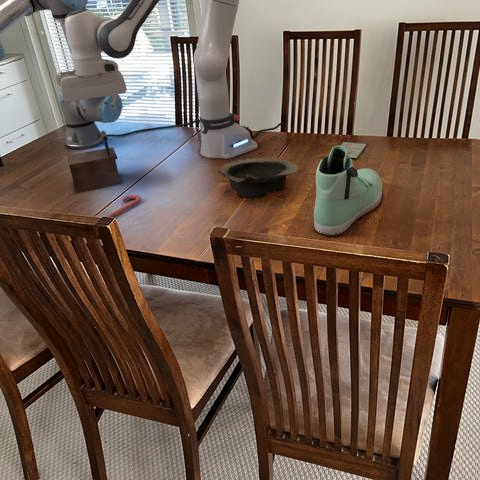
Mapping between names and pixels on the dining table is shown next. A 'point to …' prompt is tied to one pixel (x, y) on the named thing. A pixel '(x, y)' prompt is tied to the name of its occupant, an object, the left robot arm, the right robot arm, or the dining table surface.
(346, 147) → the baking ingredient package
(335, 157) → the sneaker
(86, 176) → the chest
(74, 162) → the lid
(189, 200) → the dining table surface
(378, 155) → the dining table surface
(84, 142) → the left robot arm
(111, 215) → the candy cane
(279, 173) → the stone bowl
